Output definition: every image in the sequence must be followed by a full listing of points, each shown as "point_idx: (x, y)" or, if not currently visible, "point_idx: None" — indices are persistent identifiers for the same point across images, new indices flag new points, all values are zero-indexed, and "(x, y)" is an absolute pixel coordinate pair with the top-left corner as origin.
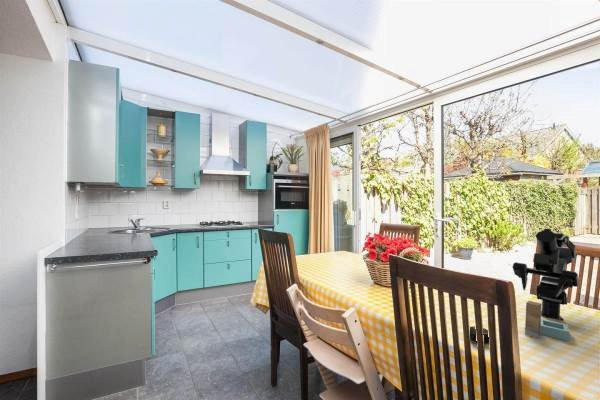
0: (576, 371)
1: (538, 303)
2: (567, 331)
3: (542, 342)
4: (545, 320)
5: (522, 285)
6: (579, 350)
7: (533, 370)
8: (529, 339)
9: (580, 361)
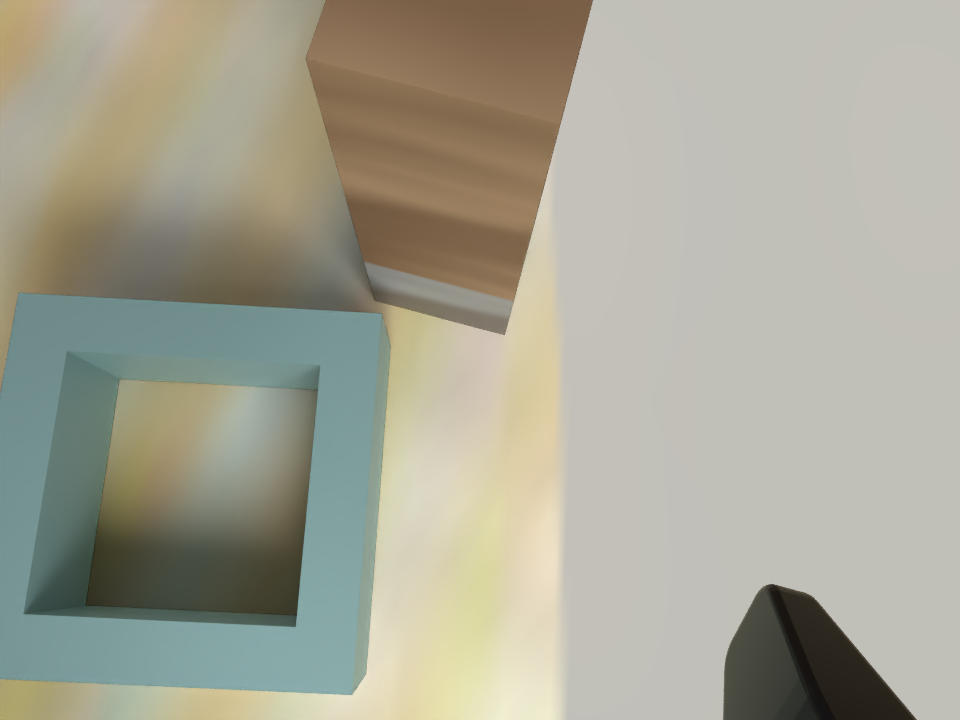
0: None
1: (372, 16)
2: (38, 300)
3: None
4: (258, 637)
5: (890, 688)
6: (39, 100)
7: None
8: None
9: None
